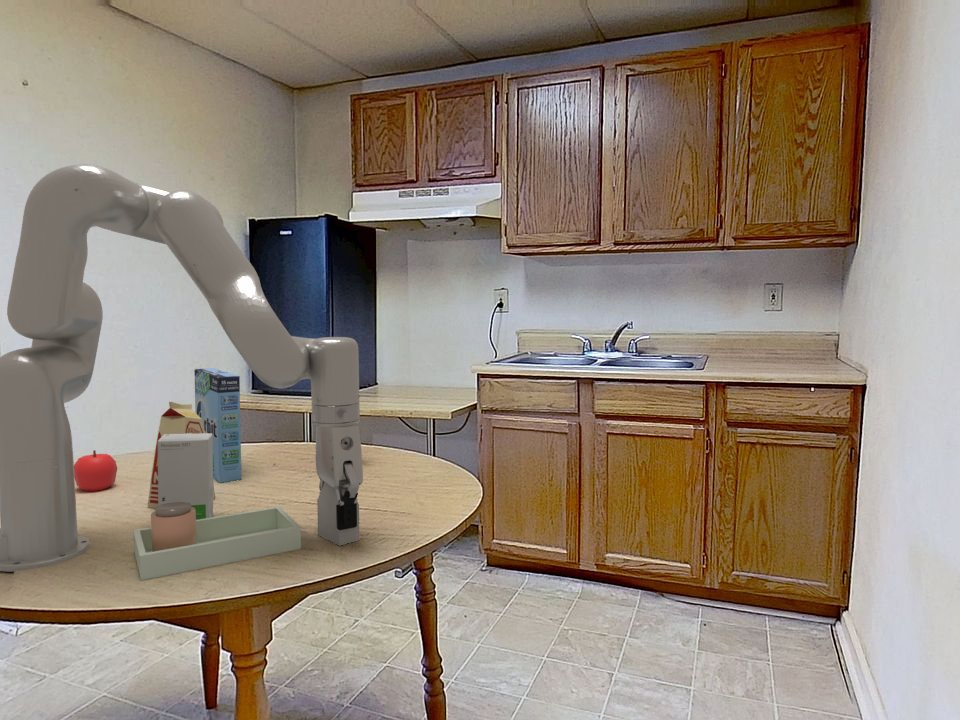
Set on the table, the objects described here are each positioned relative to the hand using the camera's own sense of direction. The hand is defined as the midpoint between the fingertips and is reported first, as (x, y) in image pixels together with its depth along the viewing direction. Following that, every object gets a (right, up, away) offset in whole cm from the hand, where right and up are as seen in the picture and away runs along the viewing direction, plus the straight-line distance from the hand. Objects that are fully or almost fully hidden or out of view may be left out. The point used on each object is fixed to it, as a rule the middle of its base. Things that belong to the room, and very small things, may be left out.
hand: (338, 520), depth 107 cm
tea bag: (0, -3, 0) cm, 3 cm away
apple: (-56, -1, +29) cm, 63 cm away
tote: (-17, -4, -7) cm, 18 cm away
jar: (-22, -3, -10) cm, 24 cm away
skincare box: (-28, -3, +7) cm, 28 cm away
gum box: (-36, +1, +41) cm, 55 cm away
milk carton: (-34, -1, +19) cm, 39 cm away
